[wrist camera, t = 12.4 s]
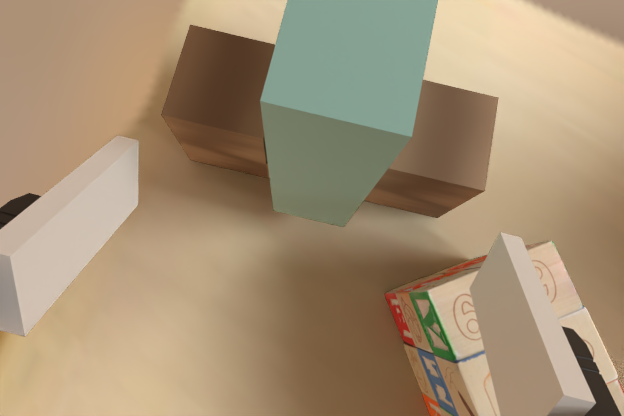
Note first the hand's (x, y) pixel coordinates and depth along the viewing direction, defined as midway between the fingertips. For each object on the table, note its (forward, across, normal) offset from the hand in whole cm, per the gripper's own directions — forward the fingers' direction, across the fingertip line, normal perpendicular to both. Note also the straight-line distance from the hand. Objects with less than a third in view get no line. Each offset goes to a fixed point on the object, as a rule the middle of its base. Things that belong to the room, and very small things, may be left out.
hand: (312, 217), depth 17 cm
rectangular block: (+11, 0, +2) cm, 11 cm away
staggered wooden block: (+13, 0, +4) cm, 13 cm away
